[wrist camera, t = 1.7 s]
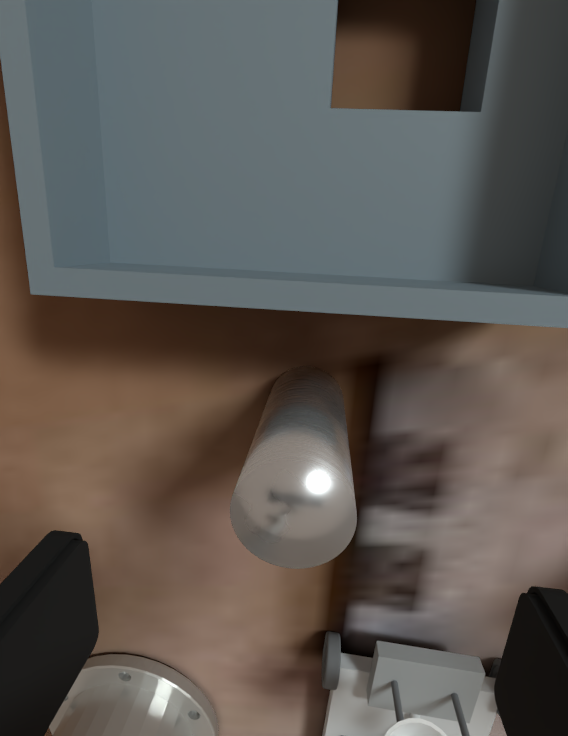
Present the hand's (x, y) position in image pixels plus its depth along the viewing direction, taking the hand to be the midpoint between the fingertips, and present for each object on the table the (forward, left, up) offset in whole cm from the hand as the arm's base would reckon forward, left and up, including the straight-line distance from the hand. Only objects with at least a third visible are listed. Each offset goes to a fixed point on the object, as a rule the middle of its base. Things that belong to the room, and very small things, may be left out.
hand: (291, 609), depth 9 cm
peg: (-1, 0, -14) cm, 14 cm away
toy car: (-23, -8, -15) cm, 28 cm away
